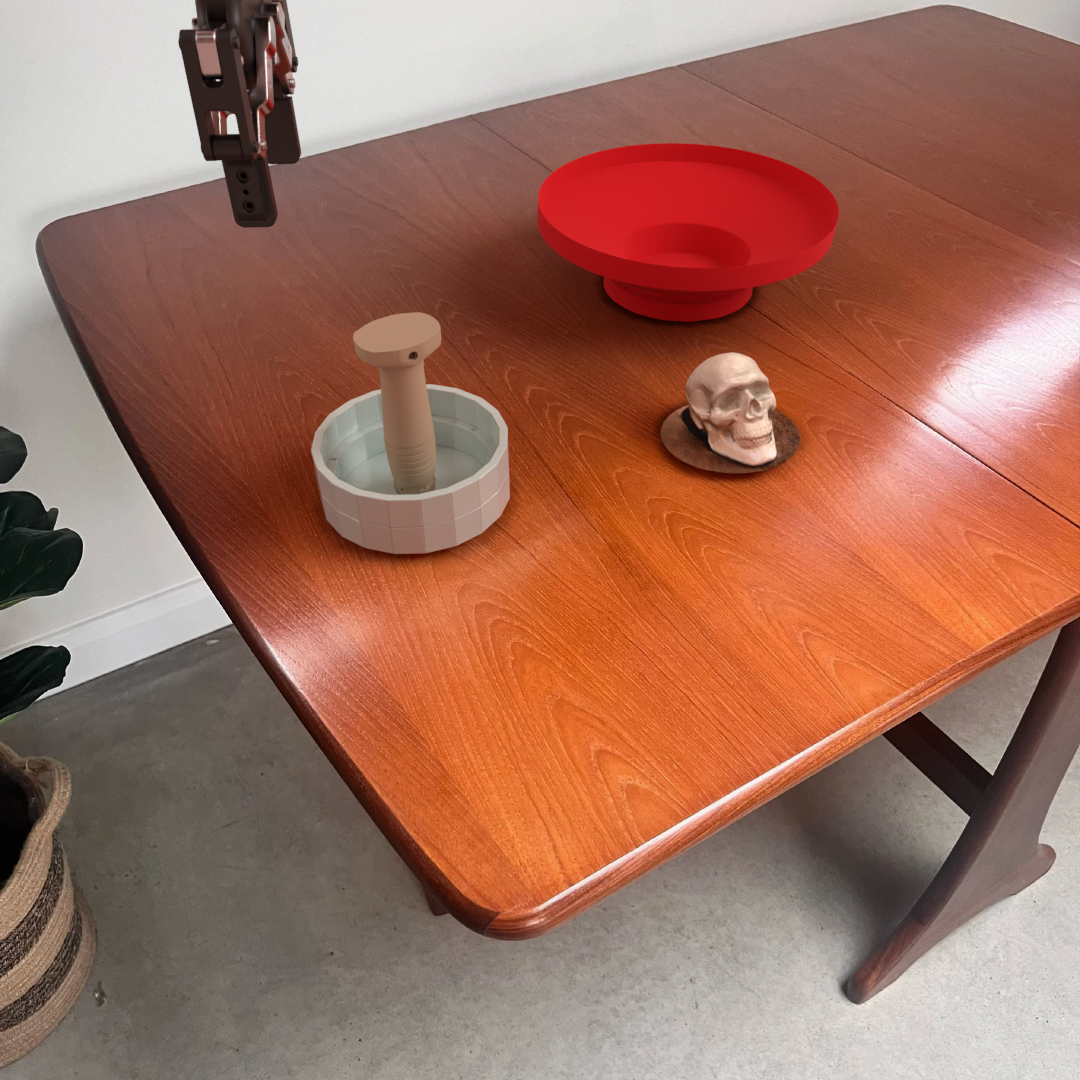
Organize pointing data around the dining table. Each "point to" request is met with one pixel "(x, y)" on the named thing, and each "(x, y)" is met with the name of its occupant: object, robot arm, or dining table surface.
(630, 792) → the dining table surface
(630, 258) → the bowl
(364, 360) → the handle
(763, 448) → the skull
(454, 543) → the mixing bowl
